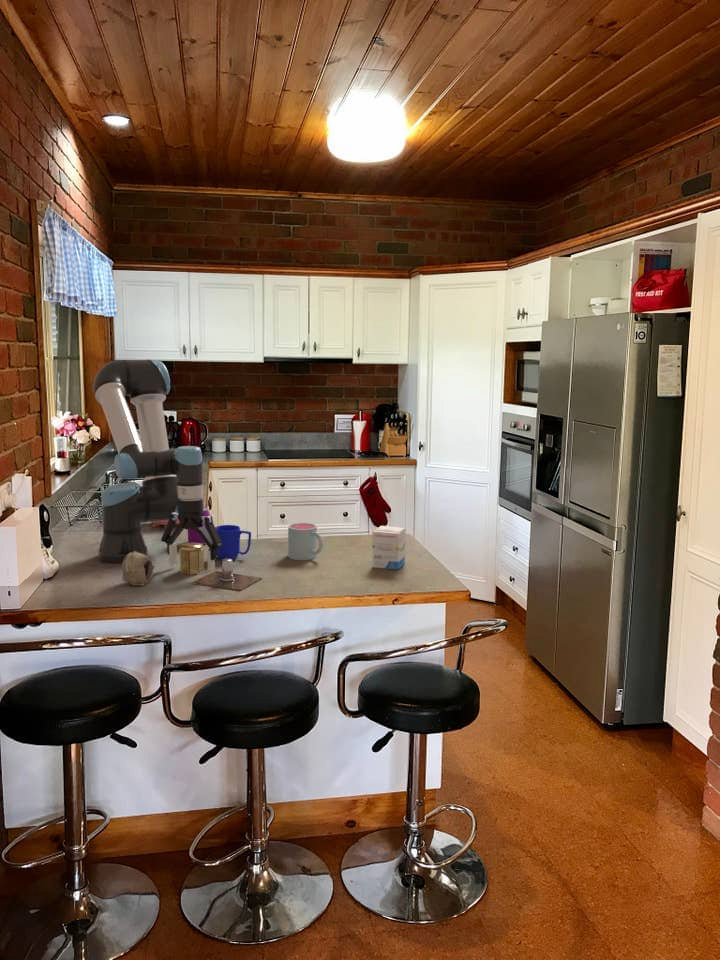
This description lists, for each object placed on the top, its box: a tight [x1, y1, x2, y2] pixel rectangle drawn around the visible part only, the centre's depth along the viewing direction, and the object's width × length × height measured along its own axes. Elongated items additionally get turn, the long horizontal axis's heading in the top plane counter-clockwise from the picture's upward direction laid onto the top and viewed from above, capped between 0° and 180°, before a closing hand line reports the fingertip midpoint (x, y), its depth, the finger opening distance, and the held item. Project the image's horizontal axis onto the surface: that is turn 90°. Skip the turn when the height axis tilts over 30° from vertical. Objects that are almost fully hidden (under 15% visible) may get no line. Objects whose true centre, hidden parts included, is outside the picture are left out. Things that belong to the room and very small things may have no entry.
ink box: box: [371, 525, 406, 571], centre depth 240 cm, size 9×8×12 cm
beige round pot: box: [121, 551, 155, 586], centre depth 220 cm, size 9×8×10 cm
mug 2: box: [287, 522, 324, 561], centre depth 247 cm, size 14×9×10 cm
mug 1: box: [215, 524, 252, 561], centre depth 245 cm, size 8×12×10 cm
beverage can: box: [187, 506, 211, 545], centre depth 264 cm, size 8×8×12 cm
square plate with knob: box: [192, 559, 263, 592], centre depth 222 cm, size 16×12×6 cm
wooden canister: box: [178, 542, 205, 575], centre depth 231 cm, size 7×9×8 cm
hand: (192, 567), depth 232 cm, fingers open, 13 cm apart
